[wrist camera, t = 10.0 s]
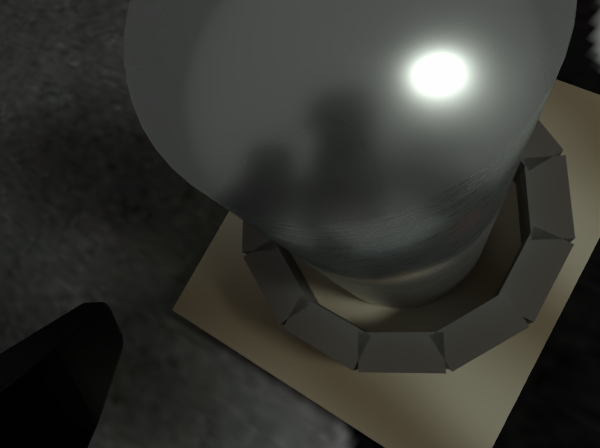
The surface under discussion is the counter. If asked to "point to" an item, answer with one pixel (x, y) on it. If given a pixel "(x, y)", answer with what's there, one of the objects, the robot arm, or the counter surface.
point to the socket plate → (423, 319)
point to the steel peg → (351, 123)
